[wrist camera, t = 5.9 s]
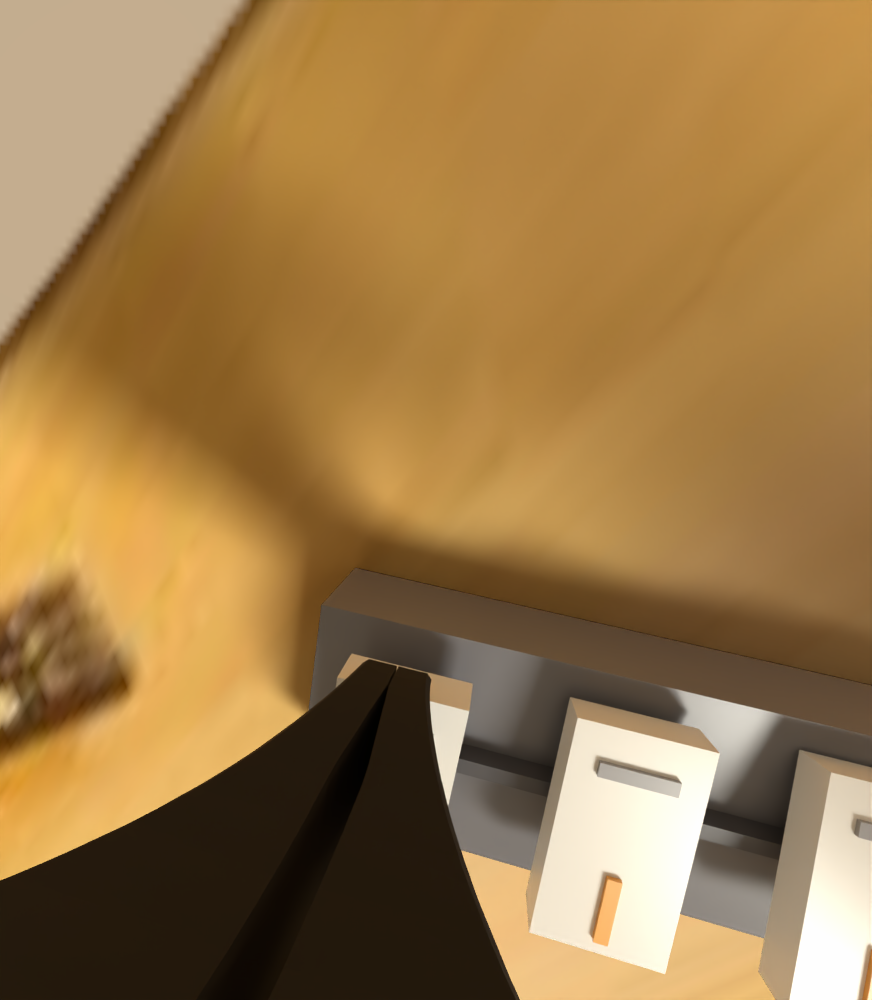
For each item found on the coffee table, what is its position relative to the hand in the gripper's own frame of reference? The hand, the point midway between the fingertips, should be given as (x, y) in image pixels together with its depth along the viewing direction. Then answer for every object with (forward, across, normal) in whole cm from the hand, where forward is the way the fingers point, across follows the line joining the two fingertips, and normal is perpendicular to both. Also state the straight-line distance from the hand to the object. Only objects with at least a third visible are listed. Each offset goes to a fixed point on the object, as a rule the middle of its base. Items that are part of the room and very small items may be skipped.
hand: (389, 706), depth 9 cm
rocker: (+1, -10, +2) cm, 10 cm away
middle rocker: (+1, -5, +2) cm, 6 cm away
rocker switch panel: (+4, -5, +2) cm, 7 cm away
